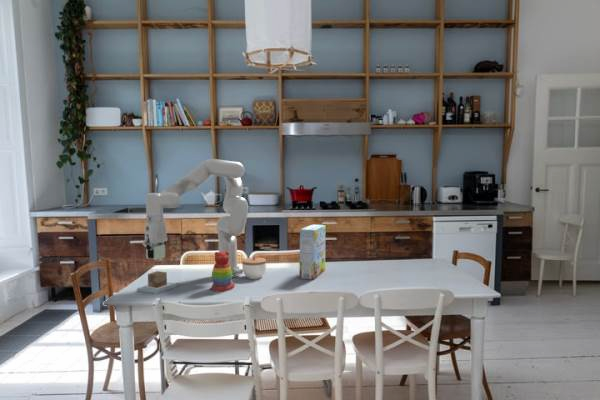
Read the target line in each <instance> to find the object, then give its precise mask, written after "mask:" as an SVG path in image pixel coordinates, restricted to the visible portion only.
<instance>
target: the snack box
mask: <svg viewBox="0 0 600 400" xmlns="http://www.w3.org/2000/svg"><path fill="white" fill-rule="evenodd" d="M326 230H327V226H326V225H324V224H310V225H308V226H307V225H306V226H305V227H303V228H301V229H300V230H299V276H298V277H299V278H298V279H304V280H310V281H312V280H315V279H316V278H317V277H319V276H320V275H321V274H322V273H324V272H326V241H327V240H326V232H327V231H326Z"/></svg>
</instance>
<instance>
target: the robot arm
mask: <svg viewBox="0 0 600 400" xmlns="http://www.w3.org/2000/svg"><path fill="white" fill-rule="evenodd" d="M244 174H245V166H244V165H243V164H242V163H241V162H240V161H233V160H232V161H231V160H225V159H218V158H209V159H206V160H204V161H202V162H201V163H200V164H199V165H197V166H196V167H195V168H194V169H192V171H190V172H188V174H186V175H184V176H182V177H181V178H180V179H178V180H176V181H175V182H172V183H171V184H170V185H169V186H167V187H166V188H165V189H163V190H162V191H161V192H150V193H149V192H148V193H147V194H146V195H145V210H146V213H145V214H146V215H145V216H146V217H145V221H146V222H145V227H144V240H143V241H142V243H141V244H142V245H143V246H144V248H145V250H146V249H147V250H148V258H152V259H151V260H154V259H153V258H154V251H153V250H152V249H153V245H154V244H162V245H165V246H166V243H167V242H168V240H169V238H168V234H167V227H166V223H165V221H164V208H170V209H174V208H177V207H179V206H180V204H181V202H182V198H181V196H183V195H185V194H187V193H189V192H192V191H195V190H197V189H199V188H201V186H202V185H204V184H205V183H206V182H208V181H209V180H210V179H211V178H213V177H221V178H224V180H225V184H226V189H225V194H224V198H223V205H222V208H223V211H224V212H225V213H227V214H229V215H225V216H224V215H223V216H221V217H220V218H218V220H217V221H216V232H217V238H218V252H228V253H229V255H228V256H229V261H228V264H229V265H230V267H231V271H232V278H236V277H239V276H240V275H242V274H244V272H243V268H242V269H241V268H240V266H238V239H237V237H238V236H240V235H242V234H243V232H244V230H245V227H246V223H247V219H248V213H249V203H248V201H247V199H246V198H245V197H242V196H243V189H244V187H243V185H244V184H243V181H242V177H244ZM150 245H151V246H150Z"/></svg>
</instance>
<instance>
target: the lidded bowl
mask: <svg viewBox="0 0 600 400" xmlns="http://www.w3.org/2000/svg"><path fill="white" fill-rule="evenodd" d="M241 264H242V270H243V274H244V275H245V276H246V277H247V279H250V280H256V279H257V280H258V279H261V278H262V276H264V274H265V273H266V270H267V259H266V258H264V257H256V255H253V256H252V257H248V258H244V259H242V261H241Z"/></svg>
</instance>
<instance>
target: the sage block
mask: <svg viewBox="0 0 600 400" xmlns="http://www.w3.org/2000/svg"><path fill="white" fill-rule="evenodd" d="M150 246H151V245H150ZM145 250H146V251H145V256H146V257H145V258H146V259H148V260H149V259H150V260H160V259H163V258H166V244H165V245H162V244H158V243H157V244H154V245H153V249H152V250H153V251H154V258H153V259H152V258H148V250H147V249H146V248H145Z"/></svg>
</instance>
